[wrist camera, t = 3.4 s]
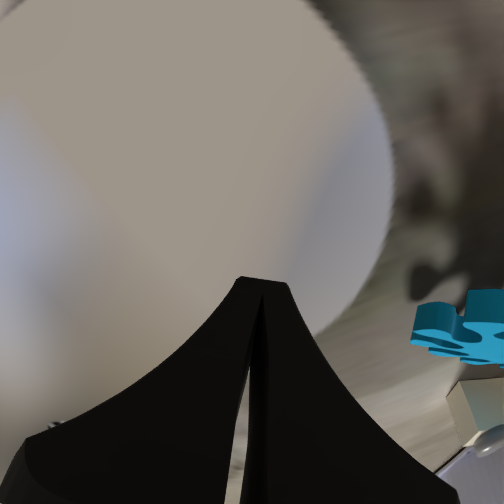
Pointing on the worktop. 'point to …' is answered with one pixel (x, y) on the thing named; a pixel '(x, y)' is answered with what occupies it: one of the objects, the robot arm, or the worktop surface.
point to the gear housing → (479, 413)
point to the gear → (464, 328)
